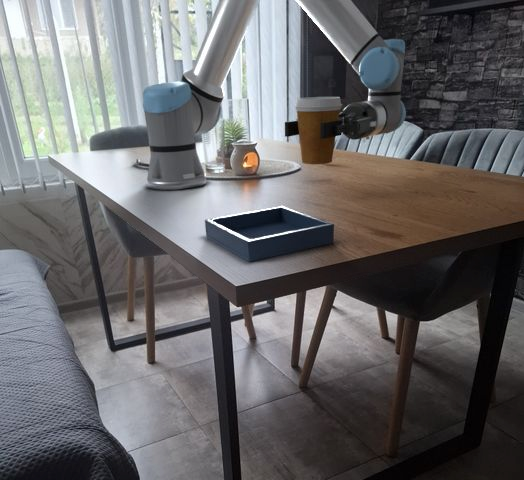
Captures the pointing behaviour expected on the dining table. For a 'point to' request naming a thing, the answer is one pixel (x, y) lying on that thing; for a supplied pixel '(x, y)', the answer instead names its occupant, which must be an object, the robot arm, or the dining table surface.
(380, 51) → the robot arm
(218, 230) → the tray
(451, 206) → the dining table surface
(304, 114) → the disposable coffee cup
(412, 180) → the dining table surface
